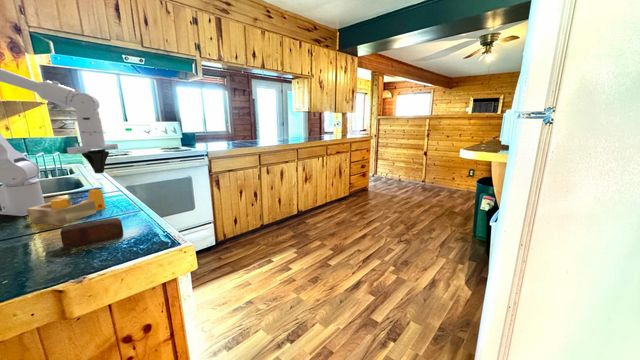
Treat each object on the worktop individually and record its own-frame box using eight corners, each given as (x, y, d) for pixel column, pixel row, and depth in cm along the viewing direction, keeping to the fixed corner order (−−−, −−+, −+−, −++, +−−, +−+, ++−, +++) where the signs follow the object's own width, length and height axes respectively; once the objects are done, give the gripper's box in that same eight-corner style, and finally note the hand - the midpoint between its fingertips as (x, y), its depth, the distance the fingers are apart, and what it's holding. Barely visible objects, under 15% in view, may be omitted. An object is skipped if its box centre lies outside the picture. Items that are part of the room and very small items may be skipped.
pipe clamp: (94, 207, 83) (90, 188, 81) (105, 208, 82) (101, 189, 80) (50, 222, 71) (44, 200, 70) (63, 223, 70) (57, 201, 69)
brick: (63, 251, 55) (59, 231, 54) (66, 244, 58) (61, 225, 57) (124, 238, 62) (121, 220, 61) (123, 232, 65) (120, 215, 64)
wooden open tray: (30, 222, 70) (26, 208, 69) (68, 210, 79) (65, 198, 78) (60, 225, 69) (57, 211, 68) (96, 212, 78) (94, 200, 77)
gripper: (76, 133, 74) (86, 178, 78) (122, 131, 88) (128, 169, 91) (57, 133, 76) (67, 177, 79) (105, 131, 90) (112, 168, 93)
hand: (99, 172), depth 85 cm, fingers closed
